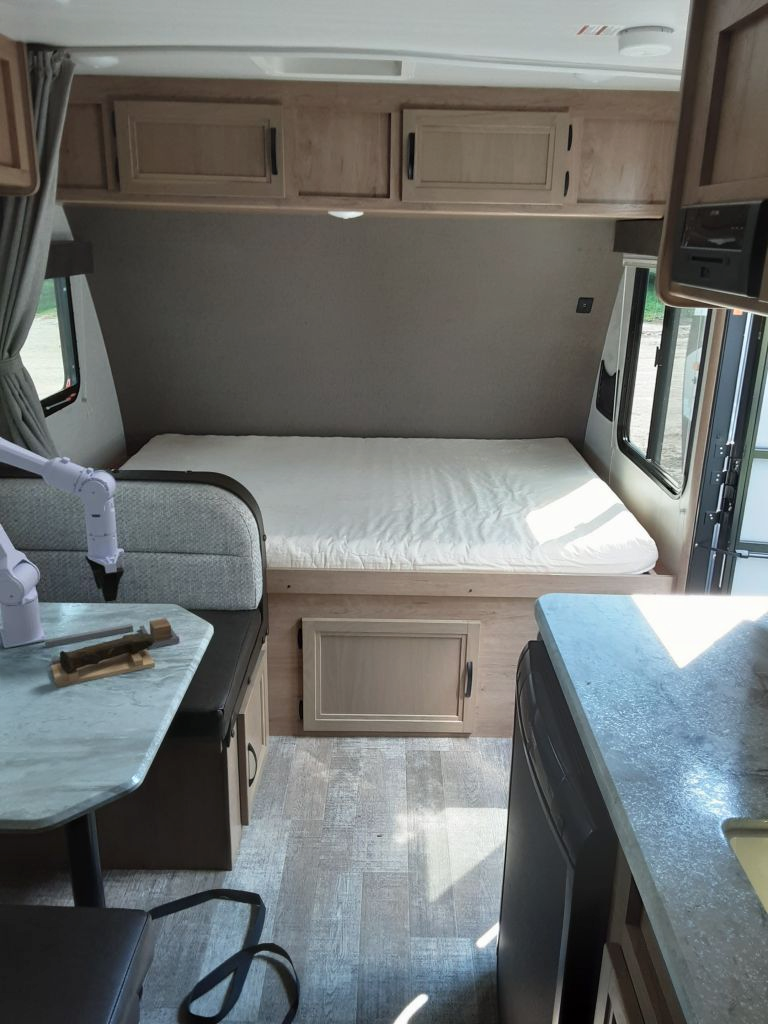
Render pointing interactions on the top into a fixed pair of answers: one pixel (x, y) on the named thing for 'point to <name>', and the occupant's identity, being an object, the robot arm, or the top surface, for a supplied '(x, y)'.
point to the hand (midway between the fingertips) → (106, 594)
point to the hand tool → (104, 651)
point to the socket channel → (86, 637)
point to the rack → (103, 668)
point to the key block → (160, 629)
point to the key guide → (165, 641)
